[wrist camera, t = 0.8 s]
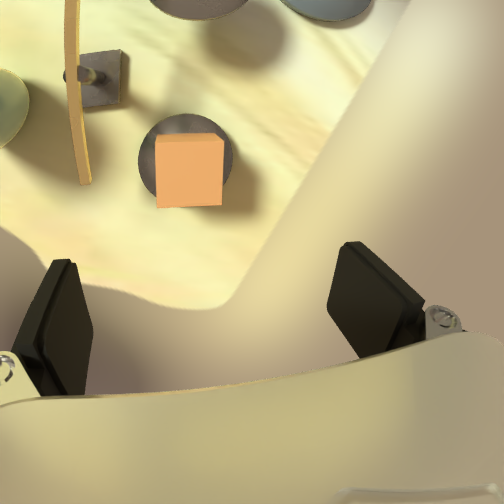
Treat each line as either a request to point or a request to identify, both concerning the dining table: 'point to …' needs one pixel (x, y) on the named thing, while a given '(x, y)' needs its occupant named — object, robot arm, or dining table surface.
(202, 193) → the block
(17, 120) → the cup
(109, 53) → the balance
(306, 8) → the dish
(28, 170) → the dining table surface
